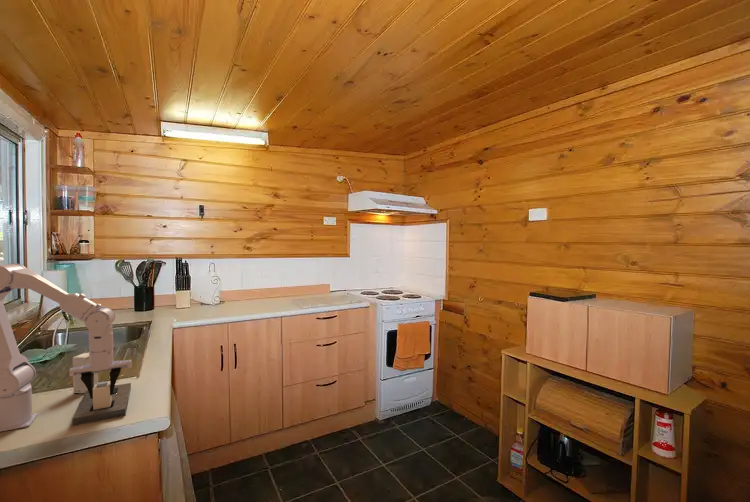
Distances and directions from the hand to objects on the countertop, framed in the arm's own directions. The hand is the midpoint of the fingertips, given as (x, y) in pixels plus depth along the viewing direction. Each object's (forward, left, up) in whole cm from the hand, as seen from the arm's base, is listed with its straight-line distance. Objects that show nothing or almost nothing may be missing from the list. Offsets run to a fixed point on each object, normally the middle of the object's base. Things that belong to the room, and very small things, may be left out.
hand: (102, 395), depth 108 cm
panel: (0, +6, -5) cm, 7 cm away
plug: (0, 0, -3) cm, 3 cm away
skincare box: (-7, +23, -5) cm, 24 cm away
